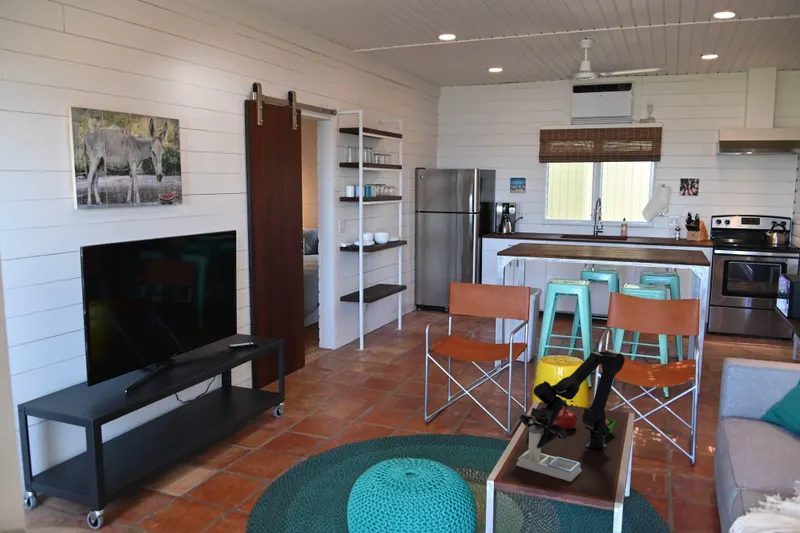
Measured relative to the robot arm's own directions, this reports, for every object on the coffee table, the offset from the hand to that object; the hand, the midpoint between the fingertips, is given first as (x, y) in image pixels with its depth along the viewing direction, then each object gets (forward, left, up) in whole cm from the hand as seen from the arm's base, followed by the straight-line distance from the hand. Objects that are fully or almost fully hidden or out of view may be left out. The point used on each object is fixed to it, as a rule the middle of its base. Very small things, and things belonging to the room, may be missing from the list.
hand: (532, 446), depth 236 cm
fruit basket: (-45, +10, -8) cm, 47 cm away
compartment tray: (-1, +6, -8) cm, 10 cm away
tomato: (-43, -5, -8) cm, 44 cm away
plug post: (-1, 0, -7) cm, 7 cm away
